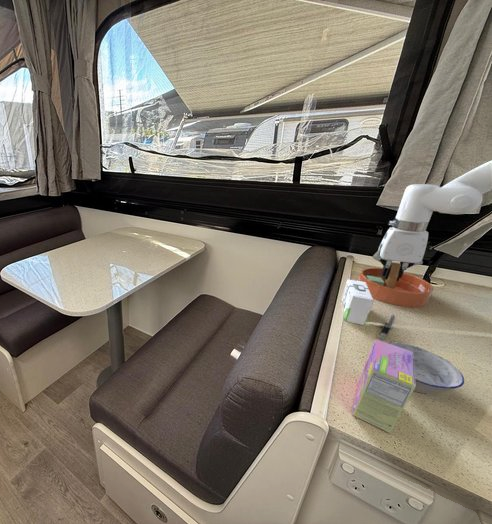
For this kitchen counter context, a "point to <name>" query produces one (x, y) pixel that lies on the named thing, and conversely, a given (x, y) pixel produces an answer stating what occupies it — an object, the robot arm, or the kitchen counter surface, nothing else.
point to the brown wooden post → (392, 275)
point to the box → (384, 385)
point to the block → (376, 280)
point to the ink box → (356, 302)
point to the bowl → (432, 371)
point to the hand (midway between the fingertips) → (389, 278)
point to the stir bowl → (398, 289)
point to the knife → (386, 328)
